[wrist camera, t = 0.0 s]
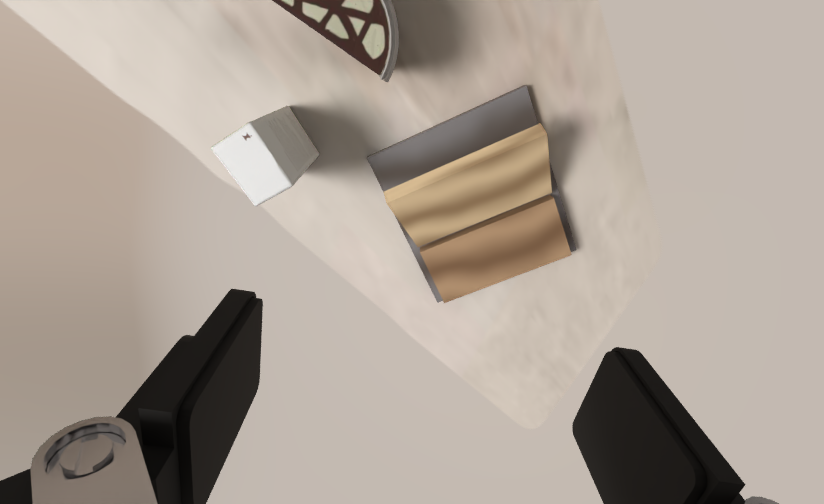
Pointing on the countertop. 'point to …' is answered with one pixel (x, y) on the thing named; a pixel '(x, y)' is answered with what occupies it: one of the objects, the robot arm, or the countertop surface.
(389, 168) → the floor board
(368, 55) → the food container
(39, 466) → the robot arm
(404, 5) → the countertop surface
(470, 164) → the oak plank
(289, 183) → the skincare box
